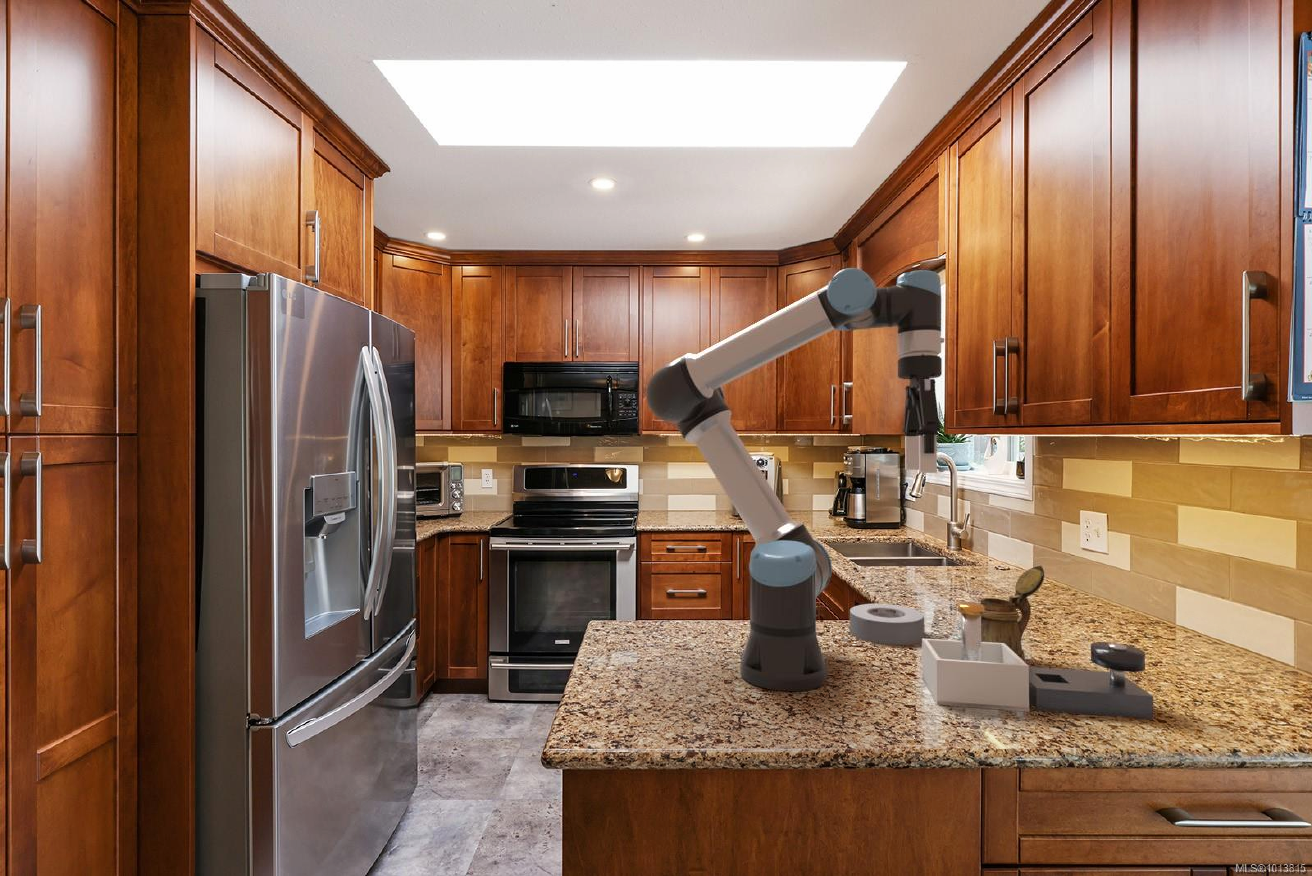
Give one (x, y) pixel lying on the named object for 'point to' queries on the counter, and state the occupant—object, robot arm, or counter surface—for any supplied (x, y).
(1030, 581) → the wooden mug
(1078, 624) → the counter surface
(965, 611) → the pin
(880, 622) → the tape roll
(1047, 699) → the block
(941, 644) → the parts bin
